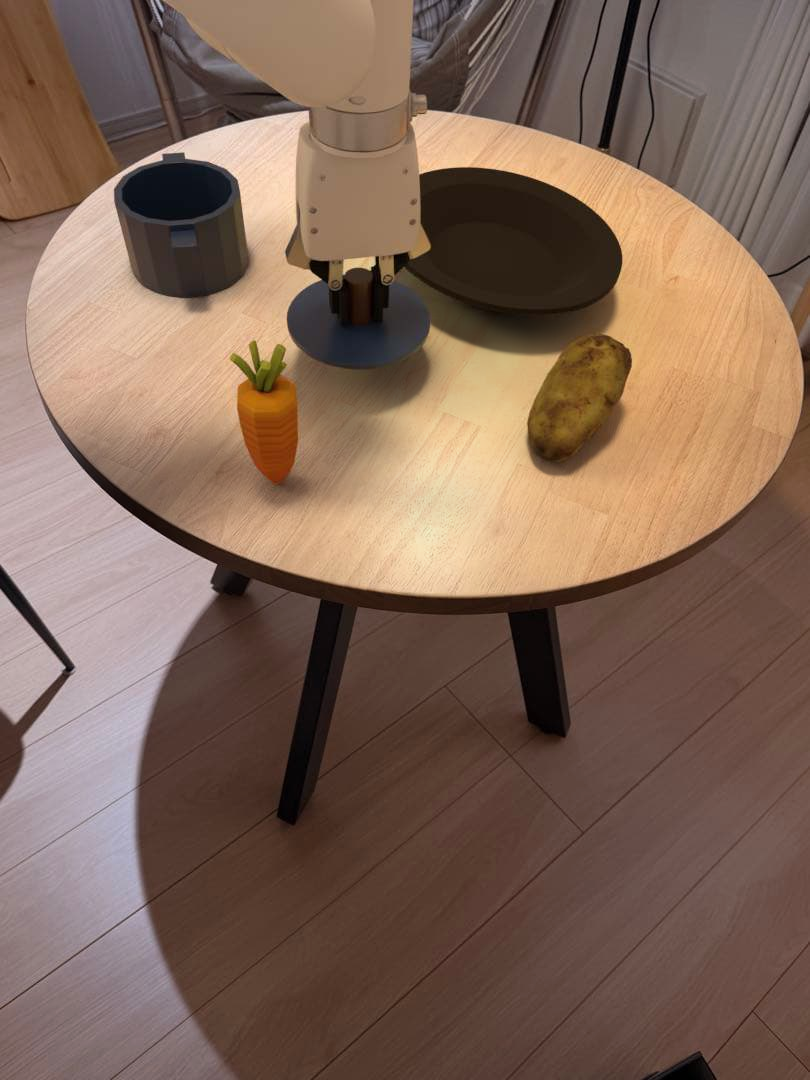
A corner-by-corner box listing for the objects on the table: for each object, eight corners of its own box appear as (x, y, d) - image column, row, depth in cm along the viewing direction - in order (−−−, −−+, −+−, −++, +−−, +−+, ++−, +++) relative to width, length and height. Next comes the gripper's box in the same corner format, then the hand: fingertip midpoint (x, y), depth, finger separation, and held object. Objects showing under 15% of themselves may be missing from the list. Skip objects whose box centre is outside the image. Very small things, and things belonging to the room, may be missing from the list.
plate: (655, 300, 88) (672, 256, 84) (502, 388, 78) (511, 343, 74) (485, 190, 100) (491, 146, 96) (334, 253, 90) (333, 207, 86)
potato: (488, 430, 75) (501, 365, 68) (578, 374, 80) (597, 309, 74) (552, 483, 71) (572, 419, 65) (642, 420, 76) (668, 356, 70)
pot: (135, 319, 82) (115, 245, 75) (130, 222, 92) (112, 150, 85) (257, 306, 84) (248, 234, 77) (239, 213, 94) (230, 142, 87)
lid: (299, 383, 71) (295, 332, 66) (278, 291, 78) (273, 239, 74) (445, 365, 73) (451, 314, 68) (411, 277, 81) (414, 226, 76)
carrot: (239, 496, 68) (215, 361, 56) (262, 456, 71) (243, 320, 59) (293, 510, 68) (279, 377, 56) (313, 470, 71) (305, 335, 59)
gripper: (448, 86, 63) (431, 282, 78) (245, 98, 60) (267, 299, 75) (474, 132, 59) (451, 330, 74) (257, 148, 56) (278, 351, 71)
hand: (358, 313), depth 74 cm, fingers closed on lid, 2 cm apart
